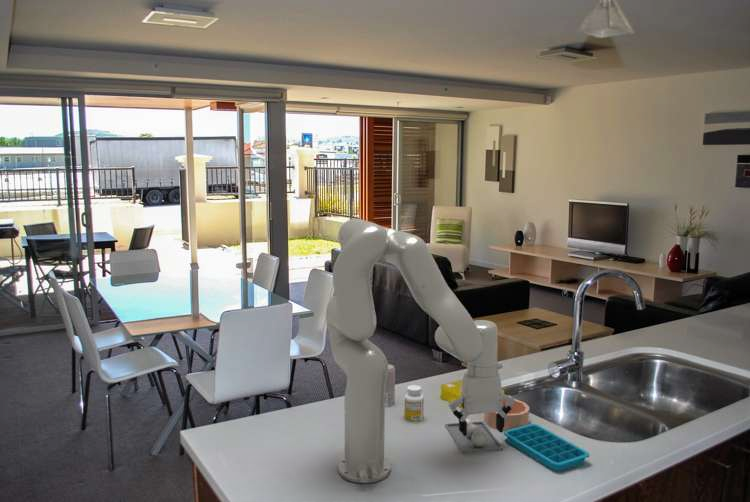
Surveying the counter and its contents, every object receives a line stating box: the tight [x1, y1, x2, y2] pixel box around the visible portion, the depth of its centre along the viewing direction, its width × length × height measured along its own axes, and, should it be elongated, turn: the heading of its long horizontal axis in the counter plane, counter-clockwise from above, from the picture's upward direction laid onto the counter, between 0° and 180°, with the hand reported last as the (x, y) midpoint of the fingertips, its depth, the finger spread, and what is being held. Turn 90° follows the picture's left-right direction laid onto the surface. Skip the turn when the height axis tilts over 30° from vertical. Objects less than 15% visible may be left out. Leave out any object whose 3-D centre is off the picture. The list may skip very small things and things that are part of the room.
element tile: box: [440, 379, 505, 409], centre depth 190 cm, size 15×15×5 cm
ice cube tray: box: [503, 423, 590, 472], centre depth 157 cm, size 12×20×3 cm, turn 28°
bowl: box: [483, 398, 530, 432], centre depth 174 cm, size 12×12×5 cm
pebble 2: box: [467, 424, 480, 437], centre depth 165 cm, size 4×4×4 cm
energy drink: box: [385, 363, 396, 408], centre depth 186 cm, size 5×5×12 cm
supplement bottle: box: [404, 384, 425, 424], centre depth 176 cm, size 5×5×10 cm
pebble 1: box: [465, 417, 474, 427], centre depth 169 cm, size 3×3×3 cm
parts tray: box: [444, 421, 504, 454], centre depth 165 cm, size 16×11×1 cm
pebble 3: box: [471, 431, 487, 447], centre depth 160 cm, size 4×4×4 cm
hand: (481, 432), depth 160 cm, fingers open, 9 cm apart
